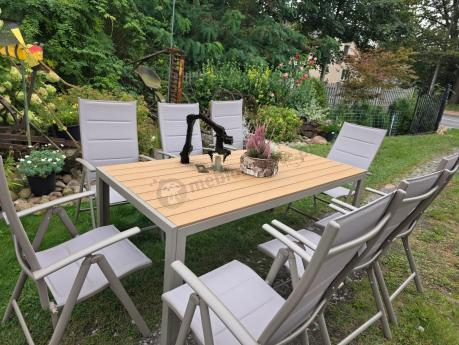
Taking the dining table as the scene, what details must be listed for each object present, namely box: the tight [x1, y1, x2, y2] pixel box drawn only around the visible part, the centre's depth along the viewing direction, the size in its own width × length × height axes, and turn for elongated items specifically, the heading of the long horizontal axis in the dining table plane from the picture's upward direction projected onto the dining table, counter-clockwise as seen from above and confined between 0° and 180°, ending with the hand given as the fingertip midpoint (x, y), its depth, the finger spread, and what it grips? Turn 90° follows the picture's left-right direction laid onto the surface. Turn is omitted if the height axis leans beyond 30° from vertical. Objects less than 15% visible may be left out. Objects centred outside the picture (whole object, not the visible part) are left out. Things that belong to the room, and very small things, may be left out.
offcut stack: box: [197, 168, 210, 174], centre depth 220 cm, size 8×3×2 cm, turn 96°
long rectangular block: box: [214, 155, 222, 169], centre depth 231 cm, size 3×6×9 cm, turn 18°
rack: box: [195, 164, 207, 171], centre depth 228 cm, size 6×11×2 cm, turn 18°
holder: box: [210, 163, 225, 171], centre depth 232 cm, size 8×9×3 cm
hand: (217, 162), depth 231 cm, fingers open, 9 cm apart
